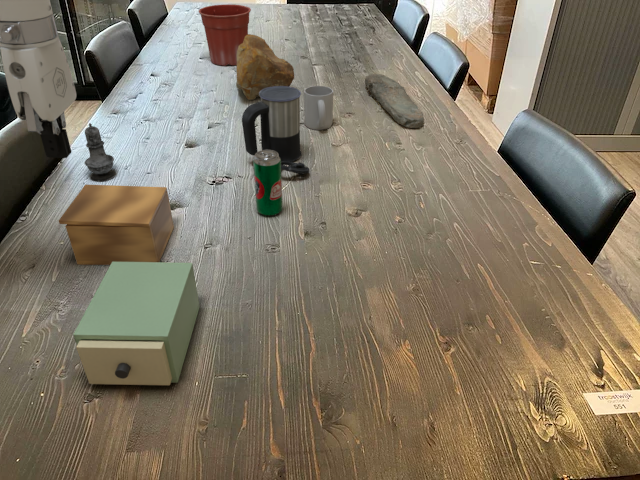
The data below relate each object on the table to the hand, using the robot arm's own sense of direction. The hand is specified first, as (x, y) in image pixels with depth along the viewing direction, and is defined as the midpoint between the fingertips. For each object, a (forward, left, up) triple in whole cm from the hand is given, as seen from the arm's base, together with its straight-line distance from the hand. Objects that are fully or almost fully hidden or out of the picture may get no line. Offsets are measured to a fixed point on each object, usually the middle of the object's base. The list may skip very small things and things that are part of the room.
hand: (59, 155), depth 82 cm
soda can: (+30, +15, -19) cm, 39 cm away
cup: (+39, +55, -19) cm, 70 cm away
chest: (+6, +3, -19) cm, 20 cm away
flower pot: (+8, +108, -19) cm, 110 cm away
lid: (+5, +3, -11) cm, 13 cm away
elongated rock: (+59, +71, -19) cm, 94 cm away
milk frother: (+32, +35, -19) cm, 51 cm away
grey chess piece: (-7, +28, -19) cm, 35 cm away
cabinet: (+16, -20, -19) cm, 32 cm away
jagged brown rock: (+23, +79, -19) cm, 85 cm away
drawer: (+16, -22, -18) cm, 33 cm away
